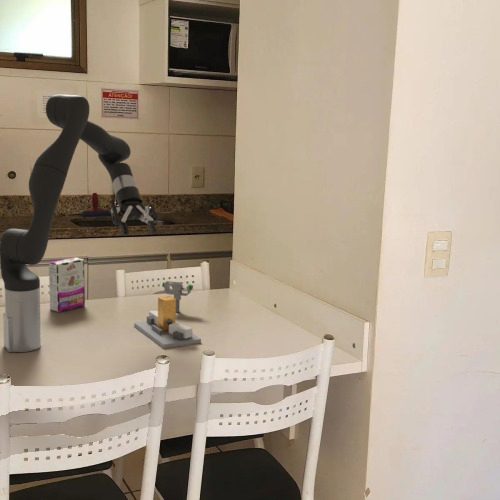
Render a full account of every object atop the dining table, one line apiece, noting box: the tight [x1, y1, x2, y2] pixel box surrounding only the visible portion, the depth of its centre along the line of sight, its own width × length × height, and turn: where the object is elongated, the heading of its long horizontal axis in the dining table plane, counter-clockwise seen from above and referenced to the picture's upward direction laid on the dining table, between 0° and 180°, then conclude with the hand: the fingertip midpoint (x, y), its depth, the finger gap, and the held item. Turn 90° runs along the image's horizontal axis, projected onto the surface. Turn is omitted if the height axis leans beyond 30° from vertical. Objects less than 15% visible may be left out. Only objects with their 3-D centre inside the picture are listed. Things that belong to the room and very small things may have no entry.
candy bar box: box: [48, 256, 86, 313], centre depth 225 cm, size 11×5×16 cm, turn 143°
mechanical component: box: [161, 280, 194, 313], centre depth 227 cm, size 3×10×10 cm, turn 78°
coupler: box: [157, 295, 177, 333], centre depth 204 cm, size 4×5×10 cm
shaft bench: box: [133, 309, 202, 349], centre depth 205 cm, size 12×22×4 cm, turn 32°
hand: (140, 233), depth 210 cm, fingers open, 8 cm apart
